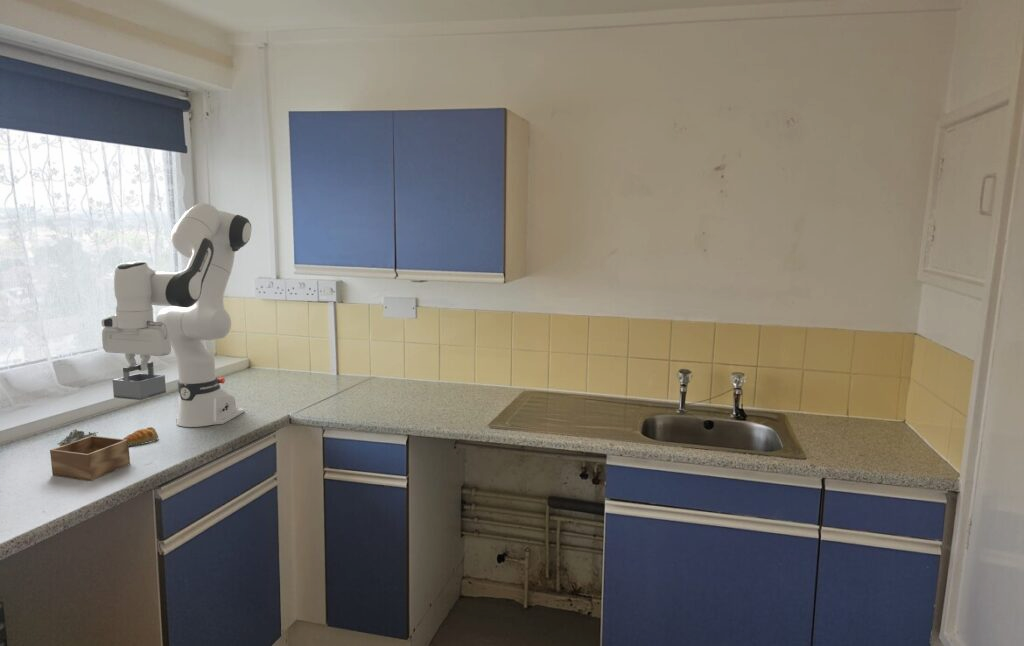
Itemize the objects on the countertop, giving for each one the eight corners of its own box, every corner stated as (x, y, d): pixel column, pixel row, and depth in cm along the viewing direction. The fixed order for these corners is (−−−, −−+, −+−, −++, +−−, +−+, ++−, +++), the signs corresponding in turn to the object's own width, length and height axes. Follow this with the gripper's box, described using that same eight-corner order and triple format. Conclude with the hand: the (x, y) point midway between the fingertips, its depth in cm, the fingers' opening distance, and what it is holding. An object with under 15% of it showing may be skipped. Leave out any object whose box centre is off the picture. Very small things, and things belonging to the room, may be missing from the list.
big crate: (94, 459, 188) (92, 435, 187) (130, 464, 185) (128, 439, 184) (52, 475, 176) (49, 450, 175) (90, 480, 173) (87, 454, 172)
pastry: (130, 448, 198) (129, 436, 197) (117, 444, 201) (116, 432, 201) (160, 440, 206) (159, 428, 205) (148, 436, 209) (147, 424, 209)
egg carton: (77, 441, 205) (75, 428, 204) (102, 440, 205) (101, 427, 205) (55, 452, 194) (53, 439, 194) (81, 452, 195) (80, 438, 194)
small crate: (140, 390, 192) (138, 360, 191) (165, 392, 189) (164, 362, 188) (113, 397, 183) (111, 366, 182) (140, 400, 181) (138, 368, 180)
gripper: (175, 320, 184) (178, 370, 186) (115, 317, 189) (118, 365, 191) (157, 323, 178) (160, 374, 180) (96, 320, 183) (99, 369, 185)
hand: (138, 369), depth 185 cm, fingers closed on small crate
